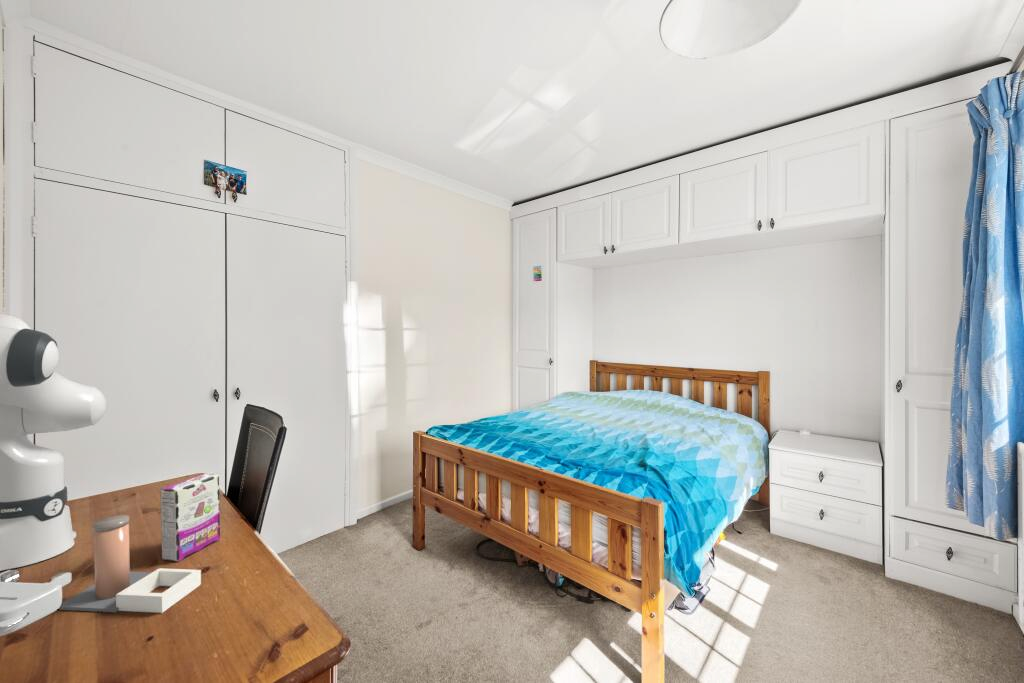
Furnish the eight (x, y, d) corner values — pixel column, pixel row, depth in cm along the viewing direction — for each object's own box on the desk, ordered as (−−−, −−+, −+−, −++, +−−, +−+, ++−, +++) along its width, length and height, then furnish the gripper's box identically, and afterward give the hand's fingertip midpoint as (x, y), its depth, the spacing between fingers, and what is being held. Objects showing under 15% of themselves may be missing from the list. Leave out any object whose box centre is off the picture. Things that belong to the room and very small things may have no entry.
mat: (55, 609, 79) (55, 606, 79) (118, 573, 91) (118, 570, 91) (115, 612, 78) (116, 609, 78) (171, 575, 90) (171, 573, 90)
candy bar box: (204, 537, 108) (204, 472, 107) (220, 539, 107) (220, 474, 106) (159, 560, 97) (159, 488, 96) (177, 562, 96) (177, 490, 95)
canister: (86, 599, 81) (85, 526, 81) (114, 583, 86) (112, 514, 86) (112, 600, 81) (110, 526, 81) (138, 584, 86) (136, 515, 86)
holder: (116, 610, 79) (116, 594, 79) (159, 582, 88) (159, 568, 88) (162, 612, 78) (162, 596, 78) (200, 584, 87) (200, 569, 87)
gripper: (-7, 612, 57) (99, 558, 71) (-145, 605, 58) (-15, 554, 72) (-7, 659, 57) (99, 596, 71) (-145, 651, 58) (-14, 591, 72)
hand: (41, 575), depth 72 cm, fingers open, 8 cm apart
